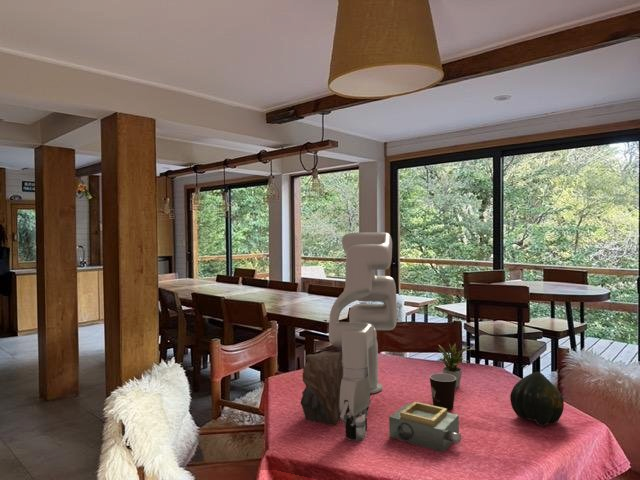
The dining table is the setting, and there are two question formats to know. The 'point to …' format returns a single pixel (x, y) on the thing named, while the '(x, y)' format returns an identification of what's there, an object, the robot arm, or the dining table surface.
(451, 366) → the house plant
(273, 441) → the dining table surface
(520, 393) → the squash
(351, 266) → the robot arm
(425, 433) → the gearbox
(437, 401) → the coffee mug
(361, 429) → the silver lidded pot
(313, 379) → the brown rock
